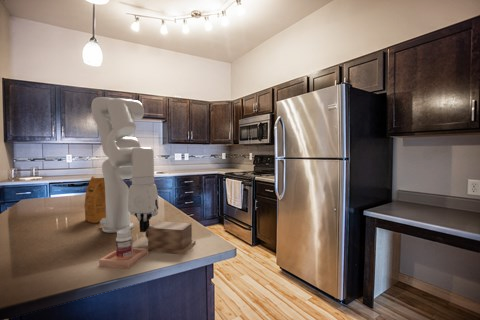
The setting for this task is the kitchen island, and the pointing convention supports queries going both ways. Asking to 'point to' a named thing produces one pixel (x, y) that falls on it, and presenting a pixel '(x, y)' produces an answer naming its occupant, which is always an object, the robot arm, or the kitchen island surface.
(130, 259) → the tray
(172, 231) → the block
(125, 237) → the pill bottle
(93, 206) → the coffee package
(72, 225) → the kitchen island surface
